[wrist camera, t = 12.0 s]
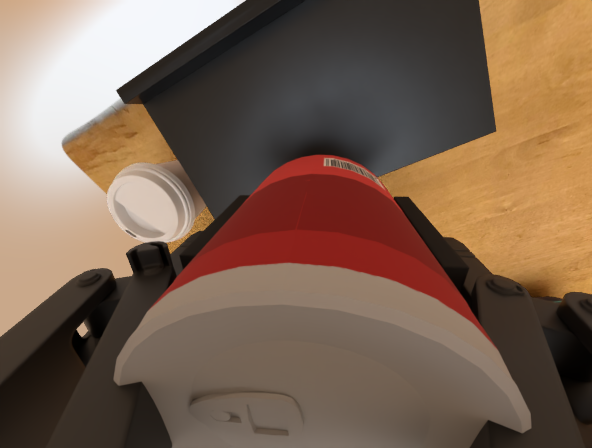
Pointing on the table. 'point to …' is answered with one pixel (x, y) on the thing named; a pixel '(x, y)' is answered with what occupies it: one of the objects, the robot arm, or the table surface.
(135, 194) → the coffee cup
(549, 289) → the table surface
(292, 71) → the rack
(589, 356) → the robot arm
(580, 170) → the table surface
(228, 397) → the canned food
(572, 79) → the table surface
